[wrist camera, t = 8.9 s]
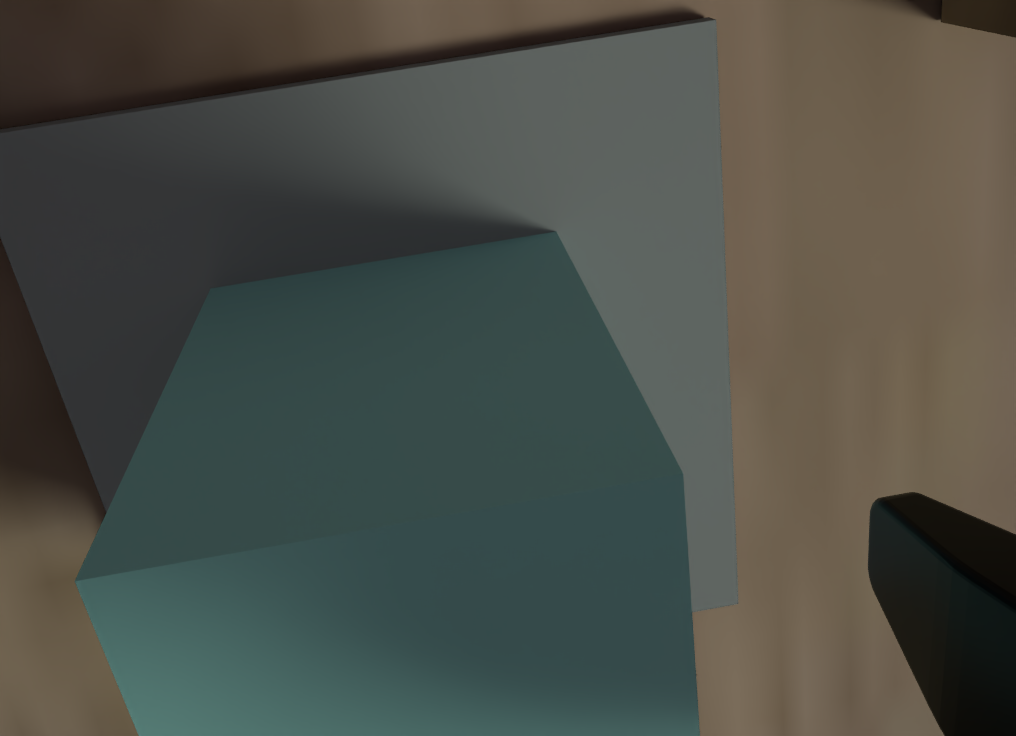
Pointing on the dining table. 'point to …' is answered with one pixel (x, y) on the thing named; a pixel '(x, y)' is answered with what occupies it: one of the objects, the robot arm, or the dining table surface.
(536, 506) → the teal block
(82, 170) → the grey rubber mat
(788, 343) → the dining table surface
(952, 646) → the robot arm
